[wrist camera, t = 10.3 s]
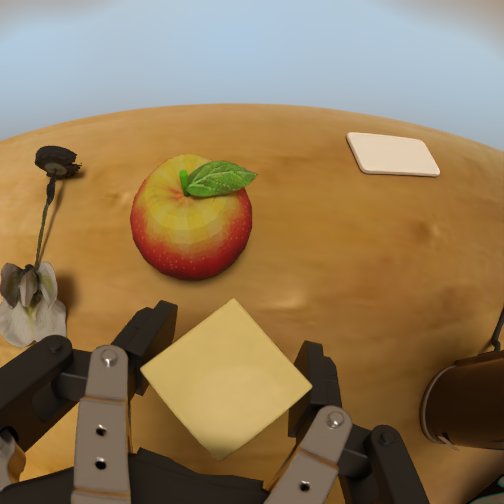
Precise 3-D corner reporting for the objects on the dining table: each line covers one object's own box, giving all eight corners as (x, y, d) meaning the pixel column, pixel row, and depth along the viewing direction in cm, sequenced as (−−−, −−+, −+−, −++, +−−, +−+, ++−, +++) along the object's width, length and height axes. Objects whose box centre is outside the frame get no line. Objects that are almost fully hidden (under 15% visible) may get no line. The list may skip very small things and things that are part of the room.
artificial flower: (101, 173, 33) (95, 124, 24) (75, 353, 26) (49, 361, 17) (43, 168, 30) (25, 121, 21) (10, 340, 23) (-31, 340, 14)
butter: (230, 329, 16) (234, 296, 9) (275, 381, 15) (314, 386, 8) (175, 370, 15) (138, 368, 8) (221, 424, 14) (218, 463, 7)
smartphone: (345, 131, 37) (422, 139, 39) (344, 135, 38) (420, 142, 40) (363, 171, 34) (442, 175, 36) (361, 174, 35) (439, 177, 37)
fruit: (143, 203, 30) (119, 140, 21) (239, 191, 32) (246, 124, 23) (146, 298, 26) (109, 258, 17) (258, 283, 28) (276, 236, 19)
